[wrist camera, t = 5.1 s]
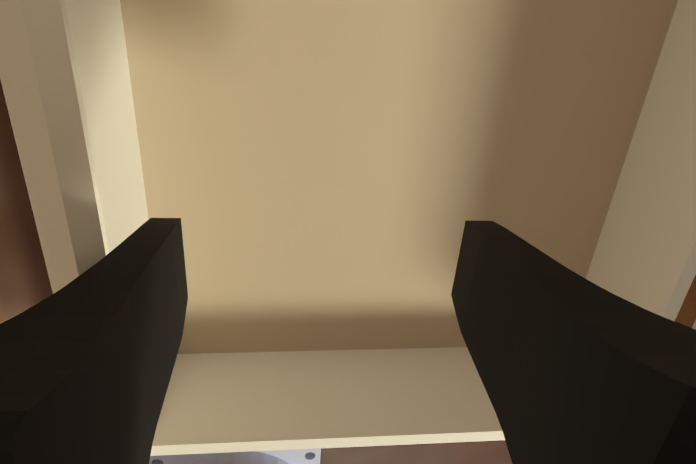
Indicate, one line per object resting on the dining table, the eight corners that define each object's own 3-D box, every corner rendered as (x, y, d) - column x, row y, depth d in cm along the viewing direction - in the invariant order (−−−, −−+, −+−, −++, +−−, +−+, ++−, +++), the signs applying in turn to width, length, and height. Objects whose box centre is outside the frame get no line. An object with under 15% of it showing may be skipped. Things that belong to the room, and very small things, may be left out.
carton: (566, 345, 26) (623, 434, 22) (157, 355, 24) (130, 456, 19) (751, -204, 16) (925, -241, 12) (68, -275, 14) (-28, -352, 9)
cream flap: (-72, -363, 9) (-111, -372, 9) (-30, -497, 6) (-92, -520, 5) (111, 463, 19) (96, 470, 19) (166, 592, 16) (148, 603, 15)
